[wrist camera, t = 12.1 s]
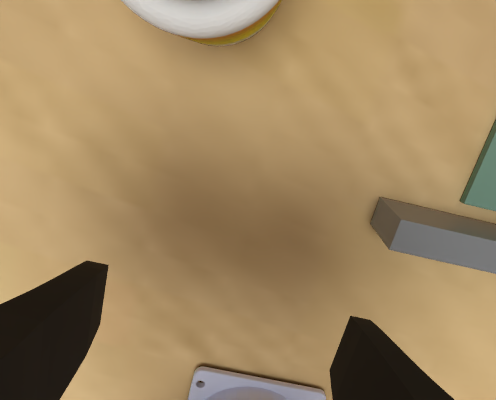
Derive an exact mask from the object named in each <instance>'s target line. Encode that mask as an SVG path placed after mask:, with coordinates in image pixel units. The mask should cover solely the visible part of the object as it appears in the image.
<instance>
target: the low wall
mask: <svg viewBox="0 0 496 400" xmlns="http://www.w3.org/2000/svg"><path fill="white" fill-rule="evenodd" d="M370 224H371V225H372V227H373V228H374V230H375V231H376V232H377V234H378V235H379V236H380V238H381V239H382V241H383V242H384V243H385V245H386V246H387V247H388V249H389V250H393V251H397V252H401V253H406V254H410V255H415V256H419V257H424V258H428V259H433V260H437V261H441V262H446V263H450V264H455V265H459V266H464V267H468V268H473V269H477V270H481V271H486V272H490V273H495V274H496V224H493V223H489V222H484V221H480V220H476V219H472V218H467V217H463V216H459V215H455V214H450V213H446V212H442V211H438V210H433V209H429V208H425V207H421V206H416V205H412V204H408V203H404V202H399V201H395V200H391V199H387V198H382V197H380V199H379V201H378V204H377V207H376V209H375V212H374V215H373V217H372V220H371V223H370Z"/></svg>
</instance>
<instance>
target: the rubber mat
mask: <svg viewBox="0 0 496 400" xmlns="http://www.w3.org/2000/svg"><path fill="white" fill-rule="evenodd" d="M460 201H461V202H462V203H464V204H468V205H472V206H476V207H480V208H484V209H489V210H493V211H496V120H495V123H494V125H493V127H492V130H491V132H490V134H489V136H488V139H487V141H486V143H485V145H484V148H483V150H482V152H481V155H480V157H479V159H478V161H477V164H476V166H475V168H474V170H473V173H472V175H471V177H470V179H469V182H468V184H467V186H466V189H465V191H464V193H463V195H462V198H461V200H460Z"/></svg>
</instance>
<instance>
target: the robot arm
mask: <svg viewBox="0 0 496 400" xmlns="http://www.w3.org/2000/svg"><path fill="white" fill-rule="evenodd" d="M107 272H108V265H106V264H101V263H96V262H91V261H85V262H83V263H81V264H79V265H77V266H76V267H74V268H72V269H70V270H68V271H66V272H65V273H63V274H61V275H59V276H57V277H55V278H54V279H52V280H50V281H48V282H46V283H44V284H42V285H40V286H38V287H36V288H34V289H32V290H30V291H28V292H26V293H24V294H22V295H20V296H17V297H15V298H13V299H11V300H9V301H7V302H5V303H2V304H0V400H60V398H61V396H62V395H63V393H64V391H65V390H66V388H67V387H68V385H69V383H70V382H71V380H72V378H73V377H74V375H75V373H76V372H77V370H78V368H79V367H80V365H81V363H82V362H83V360H84V358H85V356H86V355H87V352H88V350H89V348H90V346H91V344H92V341H93V339H94V337H95V335H96V332H97V330H98V328H99V325H100V320H101V313H102V306H103V299H104V292H105V285H106V279H107ZM330 378H331V388H332V396H333V400H454V399H453V398H452V397H451V396H450V395H449V394H447V393H446V392H445V391H444V390H443V389H442V388H441V387H440V386H439V385H437V384H436V383H435V382H434V381H433V380H432V379H431V378H430V377H429V376H428V375H427V374H426V373H424V372H423V371H422V370H421V369H420V368H419V367H418V366H417V365H416V364H415V363H414V362H413V361H412V360H411V359H410V358H409V357H408V356H407V355H406V354H405V353H404V352H403V351H402V350H401V349H400V348H399V347H398V346H397V345H396V344H395V343H394V342H393V341H392V340H391V339H390V338H389V337H388V336H387V335H386V334H385V333H384V332H383V331H382V330H381V329H380V328H379V327H378V326H376V325H375V324H374V323H373V322H372V321H371V320H368V319H363V318H358V317H353V316H350V318H349V321H348V324H347V326H346V329H345V331H344V334H343V337H342V339H341V342H340V344H339V347H338V350H337V352H336V355H335V357H334V360H333V363H332V365H331V368H330ZM198 381H203V383H200V382H198ZM187 400H326V395H325V392H324V391H323V390H321V389H317V388H312V387H307V386H302V385H297V384H291V383H286V382H281V381H276V380H271V379H266V378H260V377H255V376H250V375H245V374H240V373H235V372H230V371H224V370H219V369H214V368H209V367H198V368H197V369H195V371H194V375H193V379H192V383H191V387H190V391H189V395H188V399H187Z"/></svg>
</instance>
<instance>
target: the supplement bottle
mask: <svg viewBox="0 0 496 400" xmlns="http://www.w3.org/2000/svg"><path fill="white" fill-rule="evenodd" d="M121 1H122V2H123V3H124V4H125V5H126V6H127V7H128V8H129V9H131V10H132V11H133V12H134V13H135V14H137V15H138V16H139V17H141V18H142V19H144V20H145V21H147V22H148V23H150V24H152V25H153V26H155V27H157V28H159V29H161V30H163V31H166V32H169V33H172V34H175V35H178V36H180V37H184V38H186V39H190V40H193V41H196V42H198V43H201V44H206V45H211V46H228V45H233V44H237V43H239V42H242V41H244V40H246V39H248V38H250V37H252V36H253V35H255V34H256V33H258V32H259V31H260V30H261V29H262V28H263V27H264V26H265V25H266V24H267V23H268V22H269V20H270V19H271V18H272V16H273V15H274V13H275V11H276V10H277V8H278V6H279V4H280V2H281V1H282V0H121Z"/></svg>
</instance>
